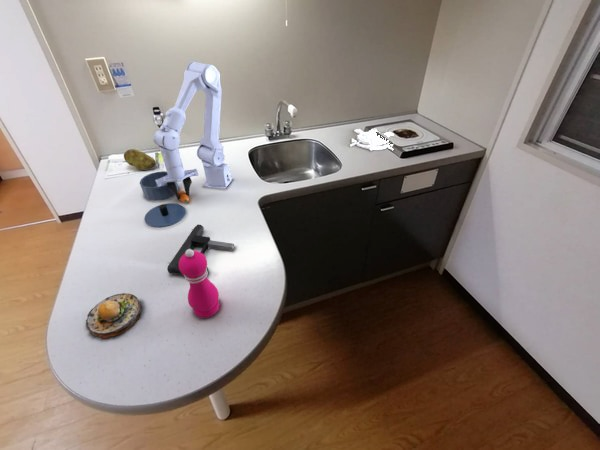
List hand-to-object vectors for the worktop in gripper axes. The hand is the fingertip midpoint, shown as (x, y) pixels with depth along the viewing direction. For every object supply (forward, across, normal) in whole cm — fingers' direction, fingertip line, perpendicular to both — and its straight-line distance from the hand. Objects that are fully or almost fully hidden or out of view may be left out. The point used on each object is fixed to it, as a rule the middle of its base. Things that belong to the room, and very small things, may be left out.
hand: (183, 196), depth 115 cm
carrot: (+1, 0, 0) cm, 1 cm away
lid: (+1, -8, -7) cm, 11 cm away
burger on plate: (+2, -30, -42) cm, 52 cm away
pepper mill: (+2, -10, -52) cm, 53 cm away
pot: (+1, -6, +10) cm, 11 cm away
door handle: (+2, -4, -33) cm, 33 cm away
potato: (+2, -8, +36) cm, 37 cm away
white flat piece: (+2, +99, +1) cm, 99 cm away
